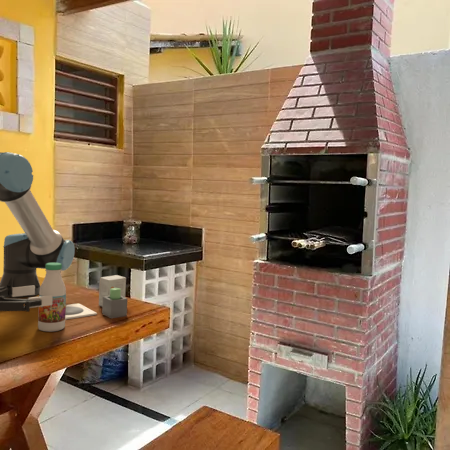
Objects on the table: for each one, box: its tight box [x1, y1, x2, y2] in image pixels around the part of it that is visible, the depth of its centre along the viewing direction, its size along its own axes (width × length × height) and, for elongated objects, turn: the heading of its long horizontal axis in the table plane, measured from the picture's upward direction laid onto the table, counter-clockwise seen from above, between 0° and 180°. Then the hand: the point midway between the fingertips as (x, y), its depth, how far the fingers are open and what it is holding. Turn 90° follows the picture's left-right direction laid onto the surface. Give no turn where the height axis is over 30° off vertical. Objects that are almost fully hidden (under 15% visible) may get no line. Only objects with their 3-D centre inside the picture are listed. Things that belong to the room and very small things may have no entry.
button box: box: [101, 296, 128, 319], centre depth 158 cm, size 6×6×6 cm
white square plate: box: [65, 302, 98, 321], centre depth 157 cm, size 14×14×1 cm
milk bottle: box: [37, 263, 67, 333], centre depth 140 cm, size 8×8×20 cm
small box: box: [98, 274, 127, 308], centre depth 169 cm, size 8×6×10 cm
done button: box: [110, 288, 121, 300], centre depth 158 cm, size 4×4×5 cm
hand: (43, 294), depth 137 cm, fingers open, 13 cm apart
